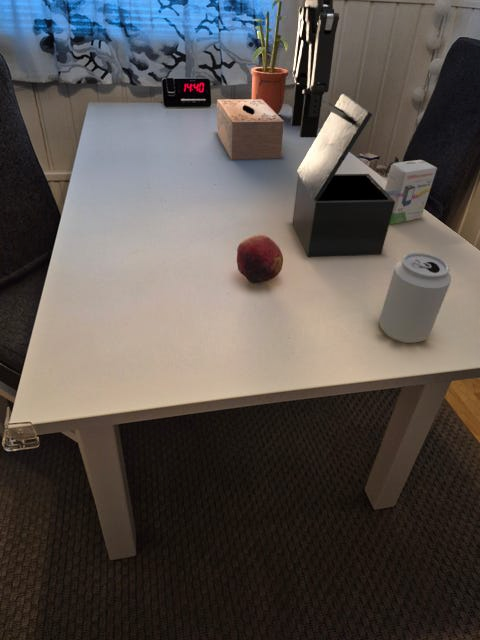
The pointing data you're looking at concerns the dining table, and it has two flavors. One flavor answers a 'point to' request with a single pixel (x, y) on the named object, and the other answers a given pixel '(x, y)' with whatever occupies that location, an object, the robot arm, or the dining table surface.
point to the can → (415, 297)
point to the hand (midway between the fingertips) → (303, 130)
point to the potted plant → (269, 68)
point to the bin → (343, 217)
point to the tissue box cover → (249, 129)
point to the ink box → (409, 188)
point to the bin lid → (332, 143)
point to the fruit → (259, 259)
